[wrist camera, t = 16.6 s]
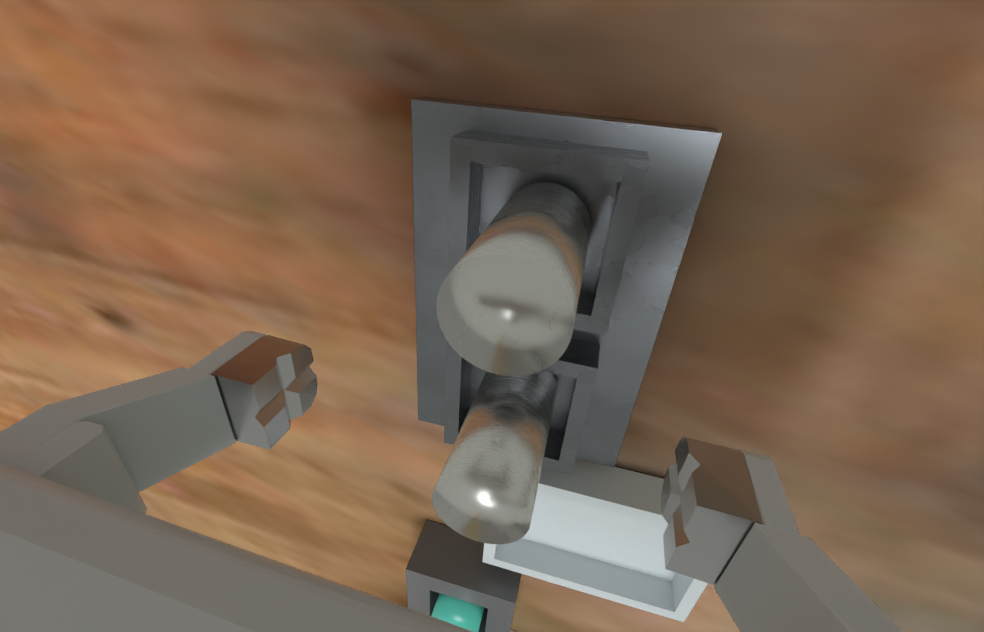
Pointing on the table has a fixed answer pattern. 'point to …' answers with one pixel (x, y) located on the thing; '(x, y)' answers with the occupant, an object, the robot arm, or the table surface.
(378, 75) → the table surface
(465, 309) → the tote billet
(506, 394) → the frosted light bulb
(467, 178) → the dark gray divided tray
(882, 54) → the table surface
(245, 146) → the table surface
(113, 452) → the robot arm
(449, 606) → the button
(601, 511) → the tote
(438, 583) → the button console
